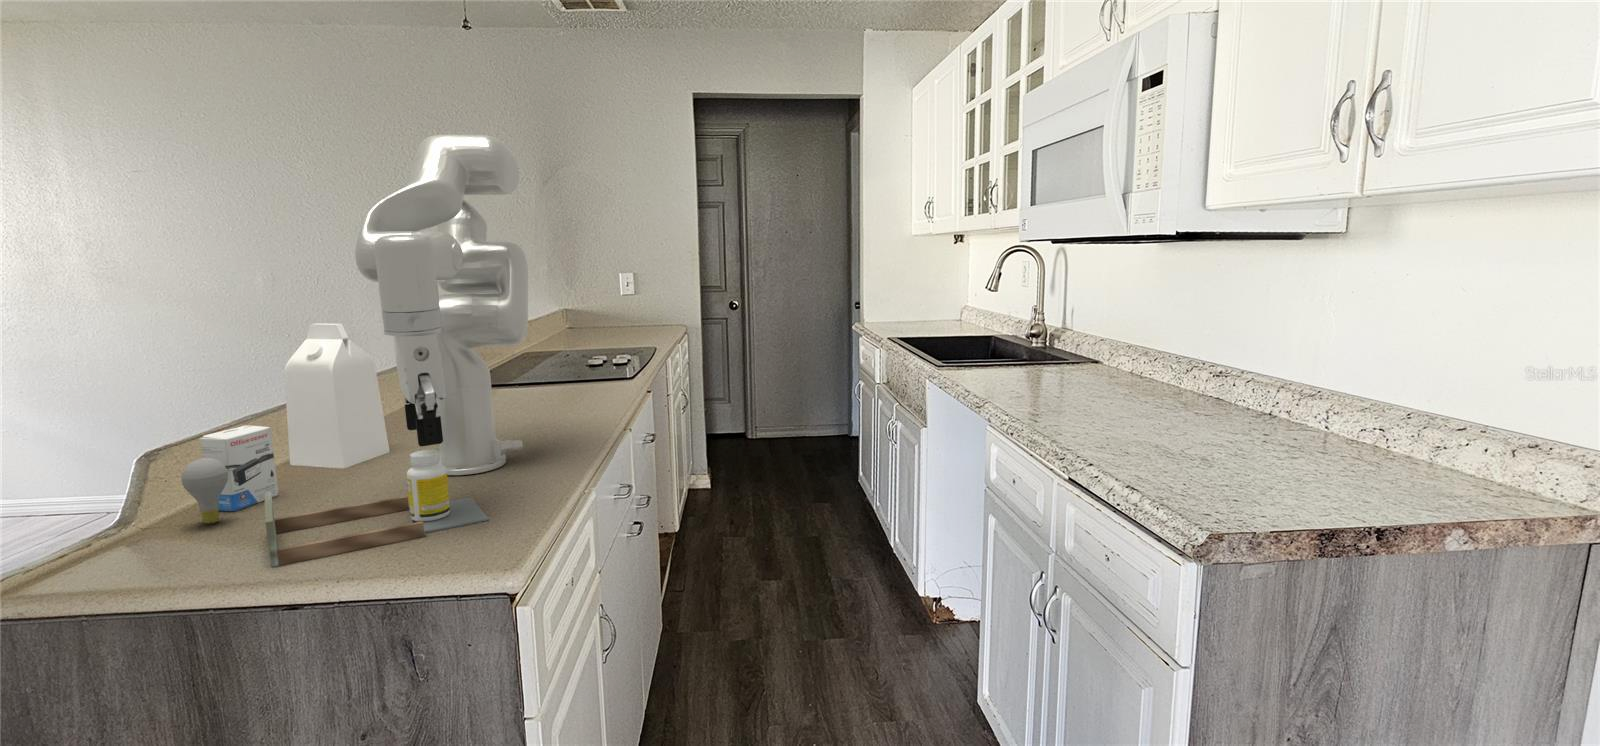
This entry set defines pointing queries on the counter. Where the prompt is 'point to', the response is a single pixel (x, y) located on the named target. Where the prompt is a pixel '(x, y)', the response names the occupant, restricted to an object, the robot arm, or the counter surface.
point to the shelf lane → (339, 543)
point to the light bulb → (206, 485)
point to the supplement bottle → (427, 486)
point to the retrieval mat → (457, 516)
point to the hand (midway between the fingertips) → (424, 436)
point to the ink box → (243, 464)
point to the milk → (333, 402)
